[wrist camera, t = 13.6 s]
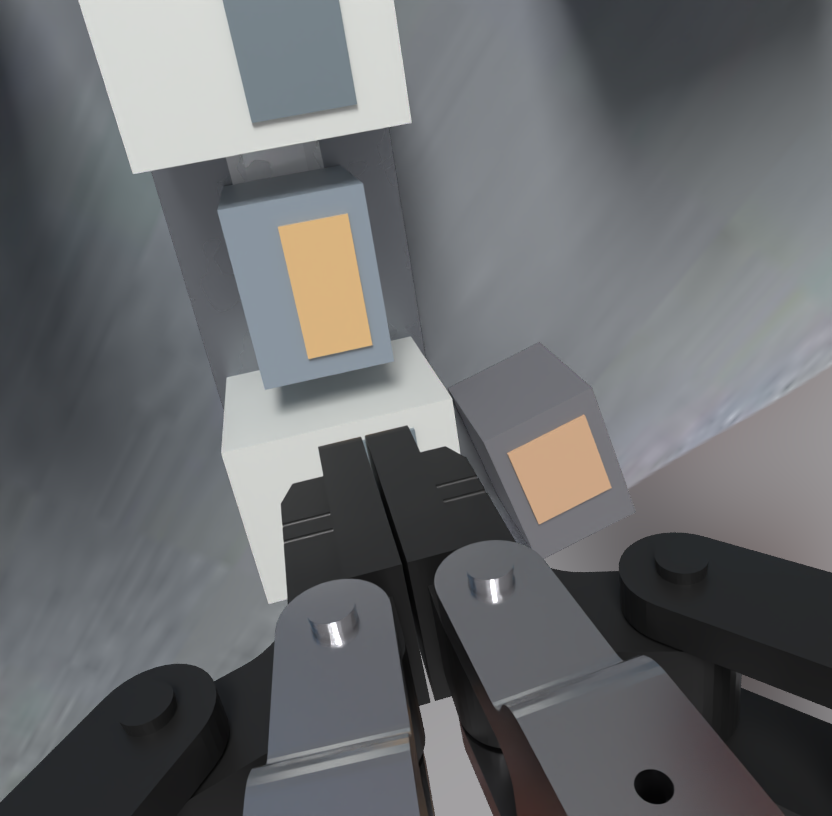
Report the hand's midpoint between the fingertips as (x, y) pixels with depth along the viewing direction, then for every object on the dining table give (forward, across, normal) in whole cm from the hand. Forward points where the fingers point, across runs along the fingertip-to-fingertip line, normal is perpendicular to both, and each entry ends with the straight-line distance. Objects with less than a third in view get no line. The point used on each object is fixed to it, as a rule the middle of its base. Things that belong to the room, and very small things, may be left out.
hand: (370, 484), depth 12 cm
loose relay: (+21, -9, +11) cm, 25 cm away
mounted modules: (+19, 0, 0) cm, 19 cm away
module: (+19, 0, 0) cm, 19 cm away
